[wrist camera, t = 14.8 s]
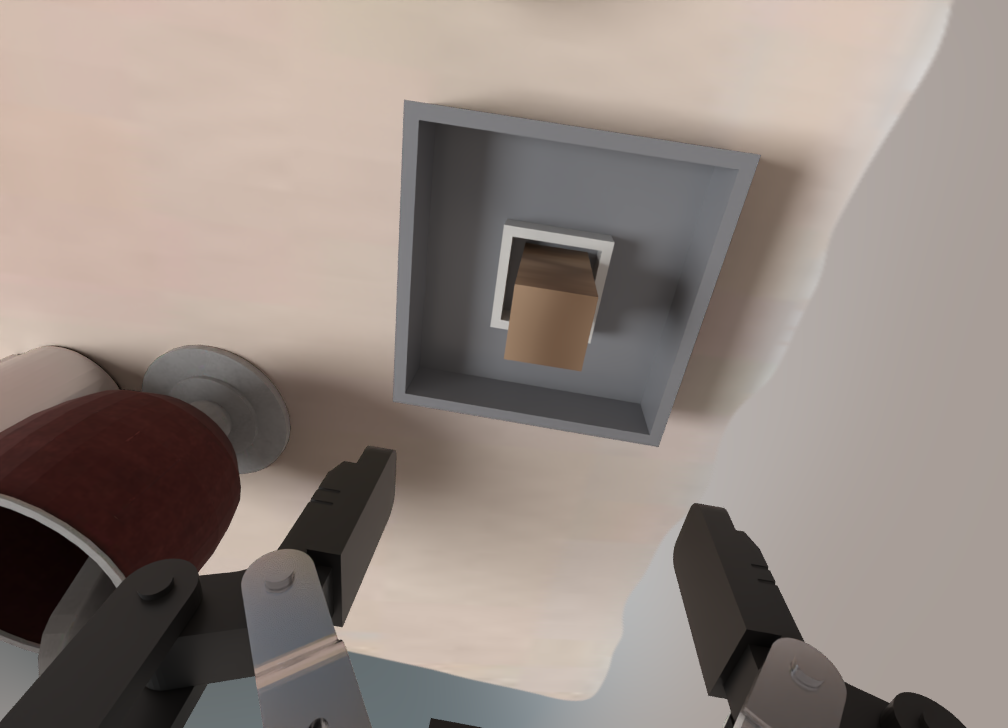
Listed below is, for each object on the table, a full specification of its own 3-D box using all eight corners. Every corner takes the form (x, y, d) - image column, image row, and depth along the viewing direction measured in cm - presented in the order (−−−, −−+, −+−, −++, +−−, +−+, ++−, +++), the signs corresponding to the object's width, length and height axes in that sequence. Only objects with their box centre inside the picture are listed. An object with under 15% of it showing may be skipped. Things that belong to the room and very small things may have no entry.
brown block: (516, 301, 33) (503, 359, 25) (525, 242, 31) (514, 284, 23) (575, 310, 32) (581, 371, 24) (587, 252, 31) (598, 297, 23)
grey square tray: (412, 368, 37) (392, 401, 32) (427, 103, 29) (404, 99, 24) (645, 407, 36) (658, 446, 32) (728, 149, 28) (760, 155, 24)
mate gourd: (106, 347, 39) (-276, 536, 21) (260, 324, 36) (-22, 515, 19) (193, 495, 45) (-42, 735, 28) (328, 484, 43) (168, 738, 25)
